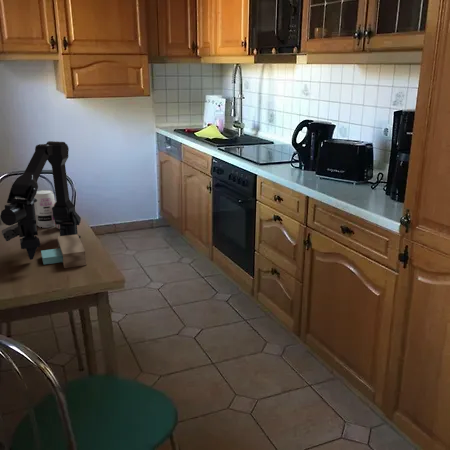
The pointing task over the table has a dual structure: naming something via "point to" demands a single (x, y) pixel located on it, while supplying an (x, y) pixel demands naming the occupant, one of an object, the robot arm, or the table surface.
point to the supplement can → (44, 208)
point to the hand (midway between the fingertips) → (31, 259)
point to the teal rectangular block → (52, 256)
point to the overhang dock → (72, 251)
